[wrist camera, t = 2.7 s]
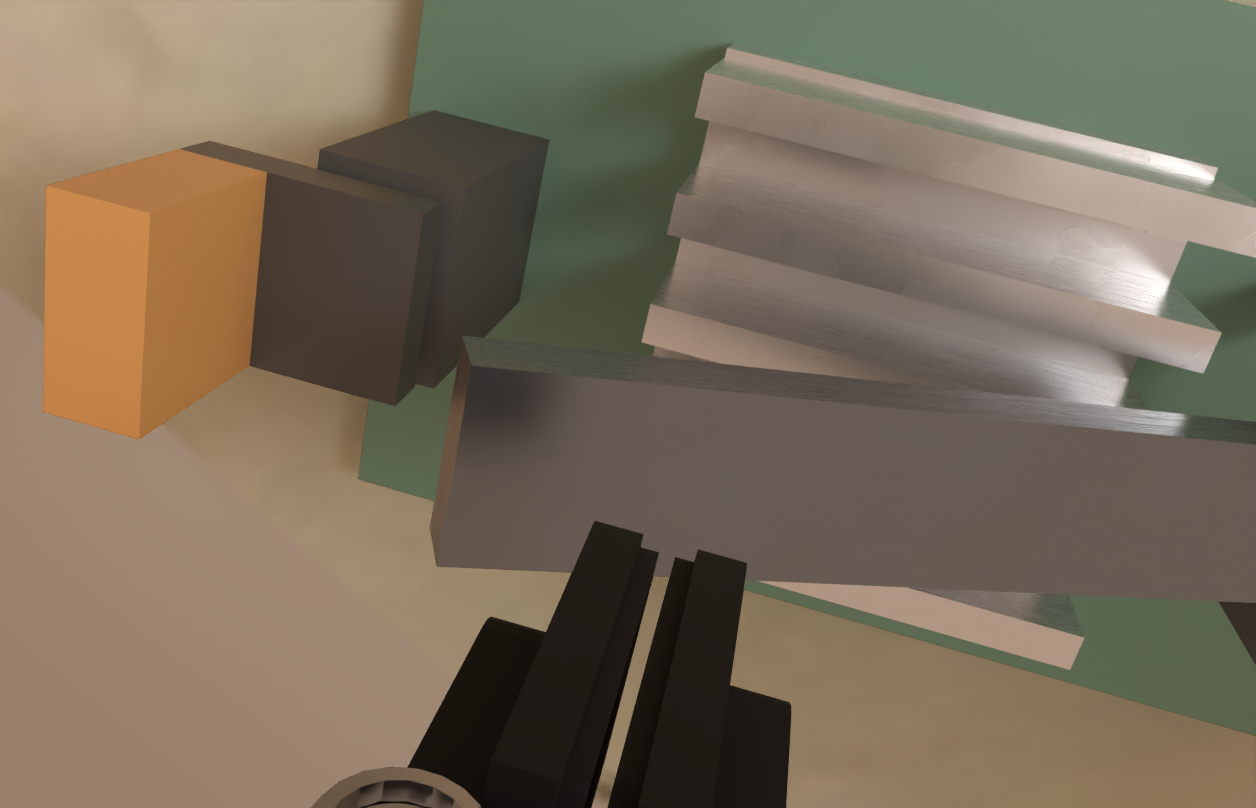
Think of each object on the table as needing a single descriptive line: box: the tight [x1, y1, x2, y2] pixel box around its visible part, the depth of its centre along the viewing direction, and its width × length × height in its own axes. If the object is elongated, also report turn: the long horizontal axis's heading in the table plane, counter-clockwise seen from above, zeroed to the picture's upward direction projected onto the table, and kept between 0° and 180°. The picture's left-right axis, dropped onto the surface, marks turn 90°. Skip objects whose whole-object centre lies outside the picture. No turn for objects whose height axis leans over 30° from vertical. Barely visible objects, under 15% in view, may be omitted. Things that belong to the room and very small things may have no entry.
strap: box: [430, 336, 1256, 603], centre depth 18 cm, size 17×4×1 cm, turn 78°
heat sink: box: [642, 43, 1256, 670], centre depth 24 cm, size 10×10×5 cm
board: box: [318, 0, 1256, 736], centre depth 24 cm, size 24×16×8 cm, turn 78°
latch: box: [43, 141, 443, 439], centre depth 19 cm, size 4×4×4 cm
